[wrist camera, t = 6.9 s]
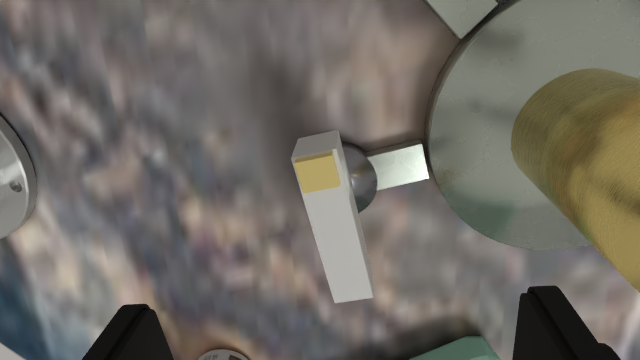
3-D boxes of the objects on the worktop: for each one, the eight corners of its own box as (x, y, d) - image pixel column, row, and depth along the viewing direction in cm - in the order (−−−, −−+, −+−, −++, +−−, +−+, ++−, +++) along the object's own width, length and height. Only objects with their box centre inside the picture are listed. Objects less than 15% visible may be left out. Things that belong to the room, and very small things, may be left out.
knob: (368, 241, 27) (373, 304, 21) (337, 246, 27) (334, 309, 22) (339, 115, 23) (335, 152, 18) (303, 123, 23) (289, 162, 18)
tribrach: (295, 199, 27) (251, 363, 15) (373, -132, 19) (413, -353, 7) (658, 286, 28) (892, 506, 16) (879, 7, 20) (1692, 24, 8)
